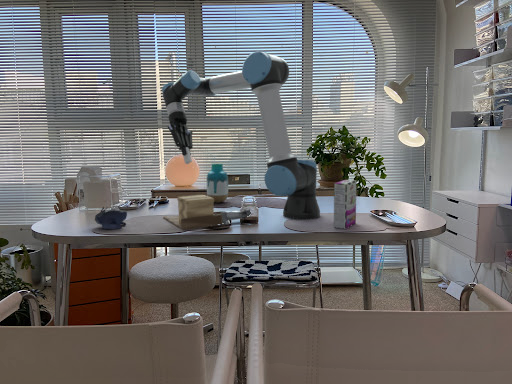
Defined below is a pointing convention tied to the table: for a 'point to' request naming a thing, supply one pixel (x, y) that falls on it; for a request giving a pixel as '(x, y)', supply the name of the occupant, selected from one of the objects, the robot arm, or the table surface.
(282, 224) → the table surface
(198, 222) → the brown flat slab
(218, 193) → the vase
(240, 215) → the winch
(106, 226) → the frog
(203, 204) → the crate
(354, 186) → the candy bar box
